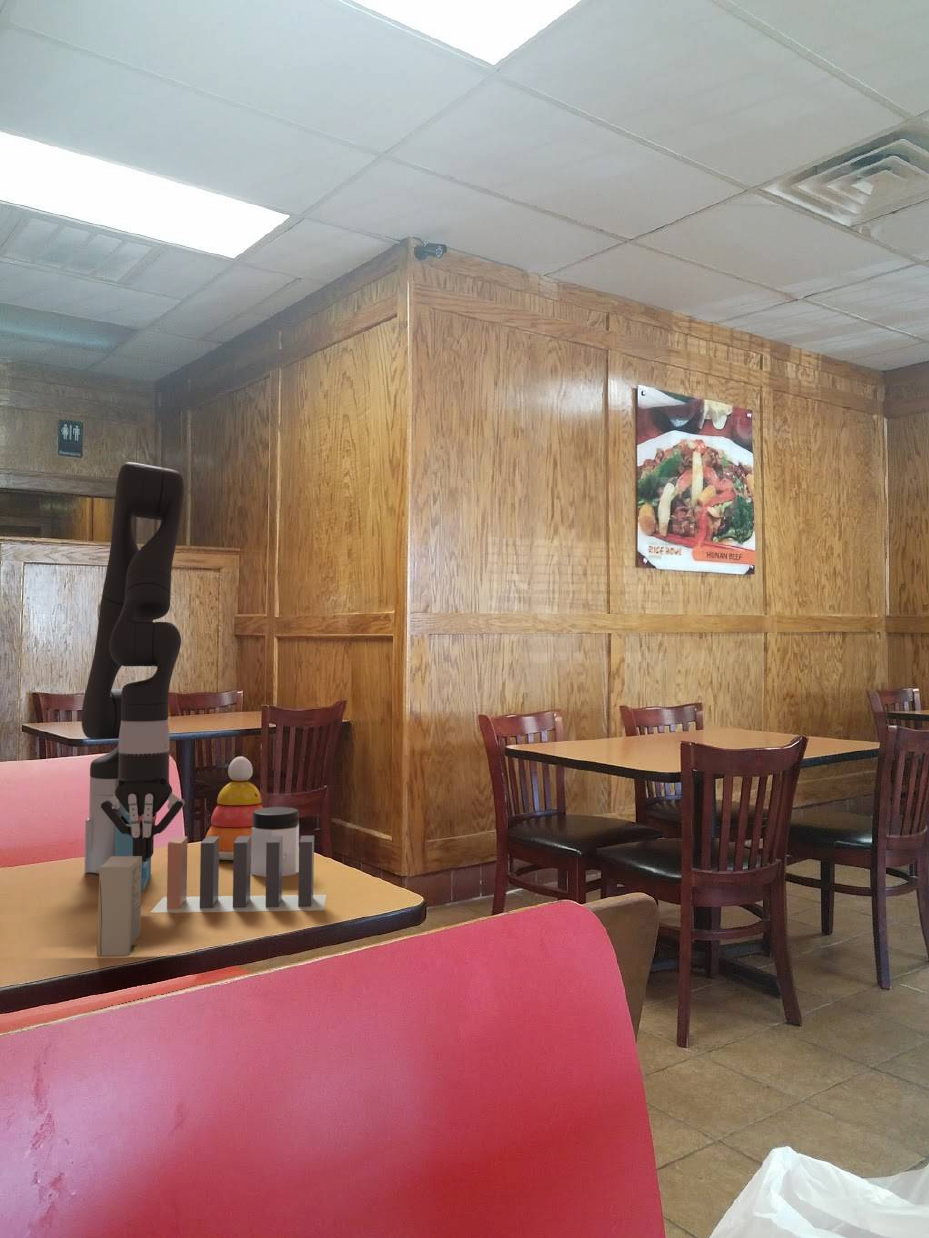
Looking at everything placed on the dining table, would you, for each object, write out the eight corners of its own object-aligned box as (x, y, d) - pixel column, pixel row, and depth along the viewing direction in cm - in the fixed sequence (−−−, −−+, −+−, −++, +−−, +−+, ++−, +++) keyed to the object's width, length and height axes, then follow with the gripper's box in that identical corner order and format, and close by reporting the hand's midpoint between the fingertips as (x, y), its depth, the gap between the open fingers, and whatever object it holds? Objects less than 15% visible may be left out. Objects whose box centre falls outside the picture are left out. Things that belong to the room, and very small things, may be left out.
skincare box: (109, 942, 135) (110, 855, 135) (141, 942, 135) (143, 855, 135) (95, 957, 129) (97, 865, 129) (129, 956, 129) (131, 865, 129)
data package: (143, 898, 158) (144, 825, 158) (114, 900, 157) (115, 826, 157) (150, 880, 170) (152, 812, 170) (123, 881, 169) (125, 813, 169)
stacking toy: (259, 866, 181) (261, 762, 182) (188, 862, 183) (189, 760, 184) (285, 850, 195) (286, 753, 196) (218, 847, 197) (220, 752, 198)
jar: (259, 886, 166) (260, 816, 167) (242, 876, 173) (243, 809, 173) (307, 879, 171) (308, 812, 172) (289, 870, 178) (290, 805, 178)
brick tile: (166, 908, 148) (167, 843, 148) (173, 899, 153) (174, 836, 153) (180, 908, 148) (181, 843, 148) (186, 899, 153) (187, 836, 153)
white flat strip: (149, 920, 145) (150, 912, 145) (163, 904, 154) (163, 896, 154) (323, 917, 148) (323, 909, 148) (326, 901, 157) (326, 894, 157)
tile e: (298, 906, 149) (299, 842, 150) (300, 898, 154) (301, 835, 155) (311, 906, 150) (312, 842, 150) (313, 898, 155) (314, 835, 155)
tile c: (232, 907, 148) (233, 842, 149) (237, 899, 153) (238, 836, 154) (245, 907, 149) (246, 842, 149) (250, 898, 154) (251, 836, 154)
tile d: (265, 907, 149) (266, 842, 149) (269, 898, 154) (270, 835, 154) (278, 907, 149) (279, 842, 149) (281, 898, 154) (282, 835, 154)
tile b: (199, 908, 148) (200, 843, 148) (205, 899, 153) (206, 836, 153) (212, 908, 148) (213, 842, 148) (218, 899, 153) (219, 836, 153)
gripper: (192, 746, 155) (190, 854, 154) (107, 747, 153) (105, 856, 153) (182, 751, 147) (181, 865, 147) (93, 752, 146) (92, 867, 145)
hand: (142, 860), depth 150 cm, fingers closed
